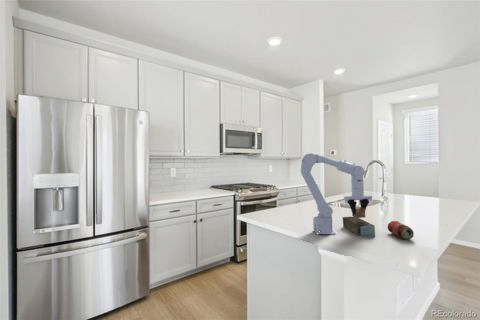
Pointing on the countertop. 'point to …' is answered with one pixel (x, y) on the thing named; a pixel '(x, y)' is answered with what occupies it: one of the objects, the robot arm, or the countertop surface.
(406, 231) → the beverage can
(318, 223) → the robot arm
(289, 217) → the countertop surface
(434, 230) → the countertop surface
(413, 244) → the countertop surface
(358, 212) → the walnut block
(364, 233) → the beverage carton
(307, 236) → the countertop surface
